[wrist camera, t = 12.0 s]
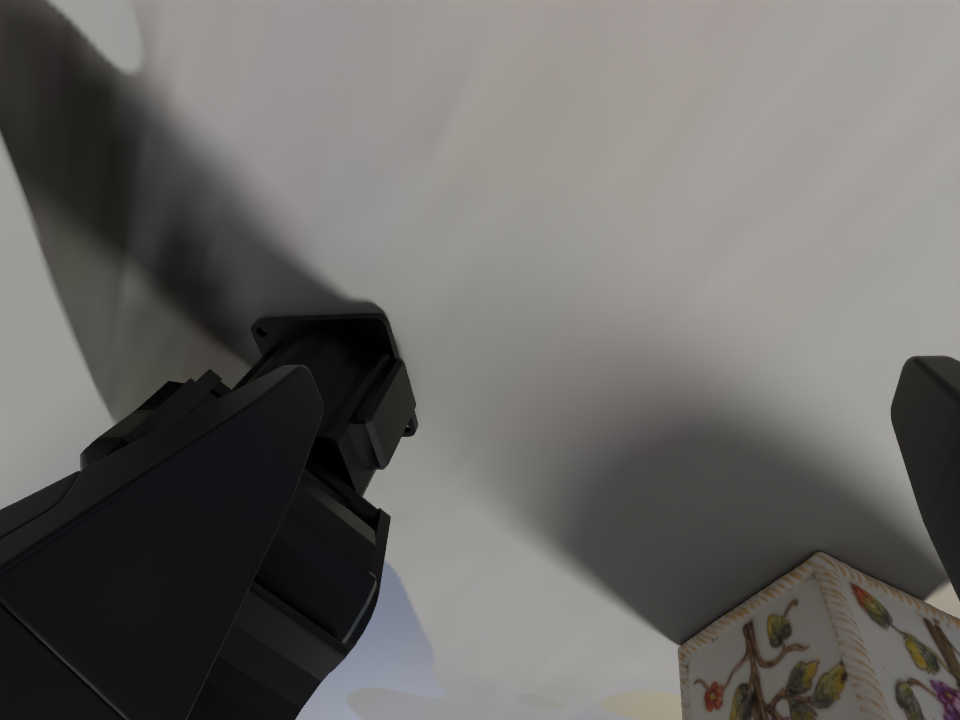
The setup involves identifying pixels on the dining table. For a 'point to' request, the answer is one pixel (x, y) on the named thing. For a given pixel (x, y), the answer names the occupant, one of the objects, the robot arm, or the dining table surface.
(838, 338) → the dining table surface
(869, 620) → the decorative jar
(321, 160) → the dining table surface
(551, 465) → the dining table surface
